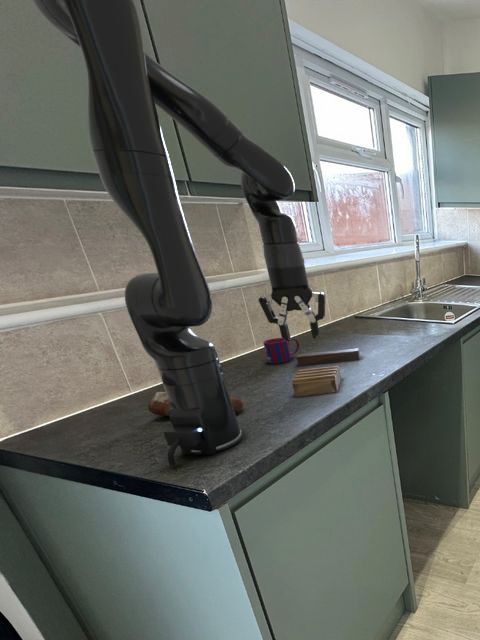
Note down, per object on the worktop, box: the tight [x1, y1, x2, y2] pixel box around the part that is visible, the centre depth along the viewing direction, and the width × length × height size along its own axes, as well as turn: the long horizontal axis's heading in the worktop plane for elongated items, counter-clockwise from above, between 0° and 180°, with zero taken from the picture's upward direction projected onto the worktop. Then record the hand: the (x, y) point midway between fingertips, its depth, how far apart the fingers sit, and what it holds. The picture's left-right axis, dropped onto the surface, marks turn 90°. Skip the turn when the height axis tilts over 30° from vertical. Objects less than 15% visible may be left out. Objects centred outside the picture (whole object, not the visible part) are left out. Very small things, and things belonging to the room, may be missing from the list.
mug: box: [263, 337, 300, 365], centre depth 134 cm, size 7×10×7 cm
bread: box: [147, 391, 244, 417], centre depth 96 cm, size 6×19×6 cm, turn 90°
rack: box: [292, 365, 342, 398], centre depth 110 cm, size 10×10×4 cm
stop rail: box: [296, 347, 361, 367], centre depth 131 cm, size 3×18×3 cm, turn 106°
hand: (301, 338), depth 98 cm, fingers open, 5 cm apart
